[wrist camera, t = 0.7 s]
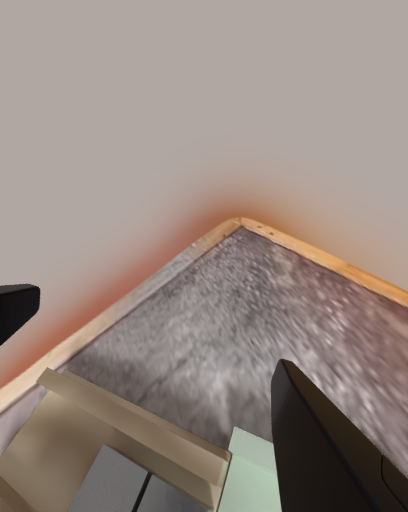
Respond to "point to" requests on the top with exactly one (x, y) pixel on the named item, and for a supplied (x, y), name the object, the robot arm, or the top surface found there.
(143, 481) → the chip
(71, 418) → the slot board
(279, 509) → the tray
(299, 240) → the top surface
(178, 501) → the chip
